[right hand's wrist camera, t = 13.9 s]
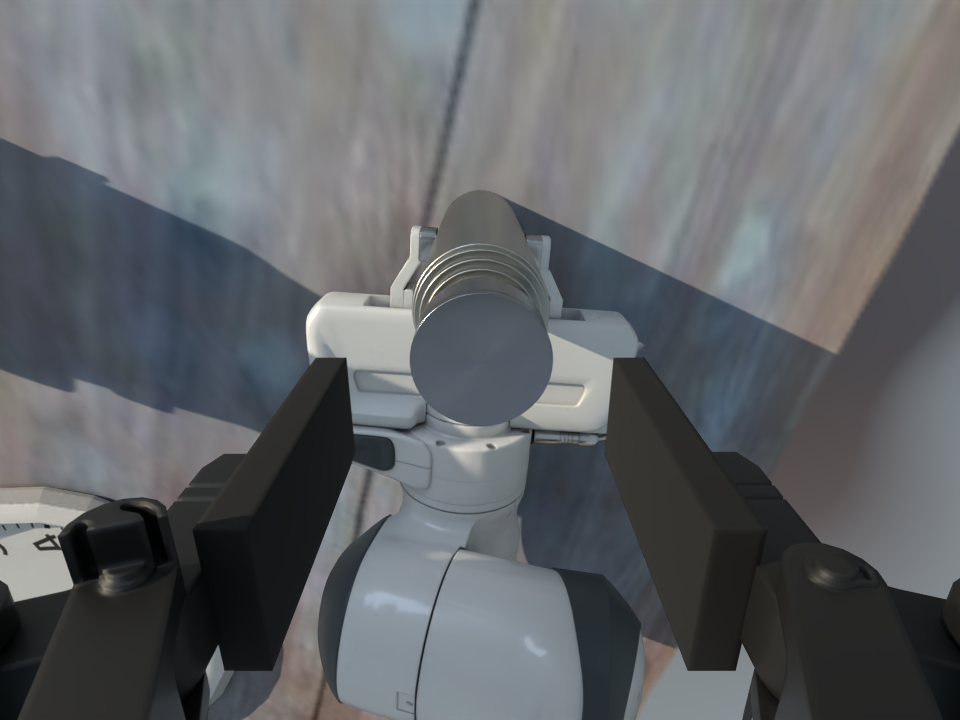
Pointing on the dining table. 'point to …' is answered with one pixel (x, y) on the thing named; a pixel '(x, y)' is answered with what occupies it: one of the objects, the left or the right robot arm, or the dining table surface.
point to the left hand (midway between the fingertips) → (480, 231)
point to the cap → (481, 352)
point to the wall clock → (54, 551)
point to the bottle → (480, 252)
